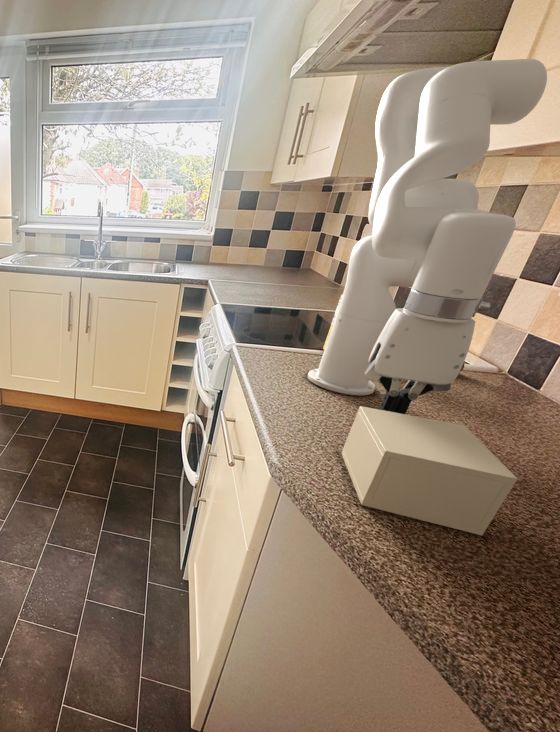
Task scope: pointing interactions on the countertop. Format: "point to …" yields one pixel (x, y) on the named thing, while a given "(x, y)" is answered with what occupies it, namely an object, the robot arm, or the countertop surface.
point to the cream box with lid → (425, 470)
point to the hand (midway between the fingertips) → (389, 416)
